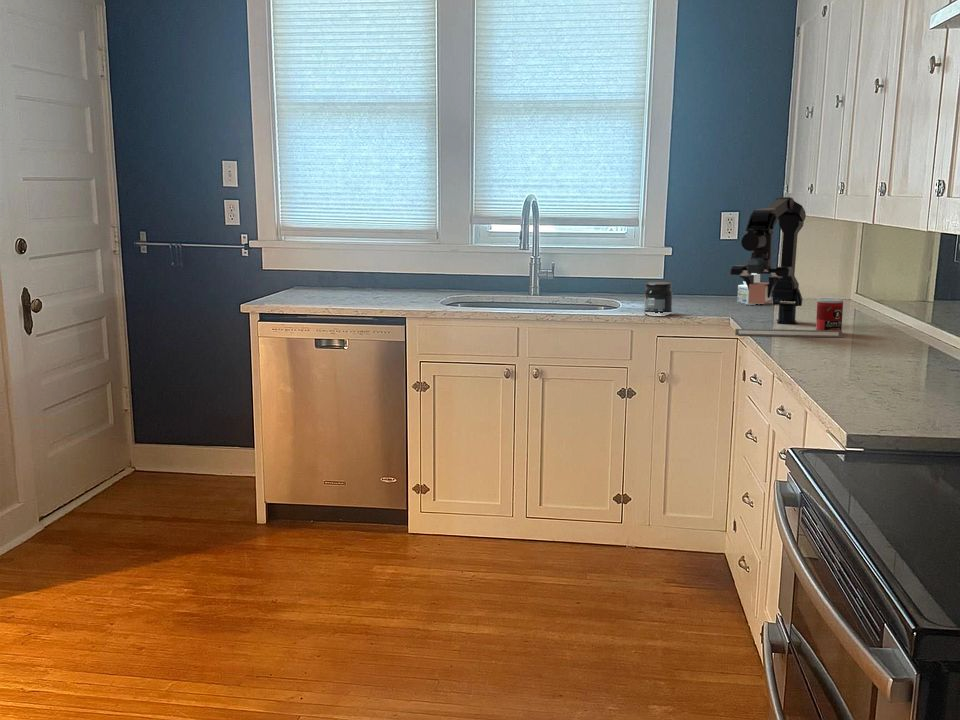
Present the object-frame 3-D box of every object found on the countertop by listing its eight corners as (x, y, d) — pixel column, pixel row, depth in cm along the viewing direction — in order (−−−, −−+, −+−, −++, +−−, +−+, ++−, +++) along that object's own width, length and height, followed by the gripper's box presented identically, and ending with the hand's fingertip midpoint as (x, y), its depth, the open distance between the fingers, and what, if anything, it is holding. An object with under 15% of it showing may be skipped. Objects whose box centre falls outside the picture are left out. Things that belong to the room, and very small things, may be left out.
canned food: (826, 336, 280) (827, 301, 278) (810, 332, 288) (812, 298, 286) (846, 334, 282) (848, 300, 280) (830, 331, 290) (832, 297, 288)
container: (736, 303, 362) (738, 272, 360) (753, 302, 365) (754, 271, 362) (747, 306, 355) (749, 273, 353) (764, 304, 357) (765, 272, 355)
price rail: (735, 334, 286) (735, 328, 286) (841, 336, 278) (841, 330, 278) (735, 335, 285) (735, 329, 285) (841, 337, 277) (842, 331, 277)
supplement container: (670, 312, 340) (671, 281, 338) (673, 316, 330) (674, 284, 327) (642, 313, 341) (643, 281, 339) (644, 316, 331) (645, 284, 328)
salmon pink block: (748, 302, 287) (749, 284, 286) (755, 300, 293) (756, 282, 292) (764, 303, 284) (765, 285, 283) (771, 301, 291) (772, 282, 289)
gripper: (725, 250, 284) (723, 298, 287) (784, 251, 274) (782, 301, 277) (736, 247, 293) (735, 294, 296) (794, 249, 283) (792, 297, 286)
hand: (760, 297), depth 289 cm, fingers closed on salmon pink block, 5 cm apart
